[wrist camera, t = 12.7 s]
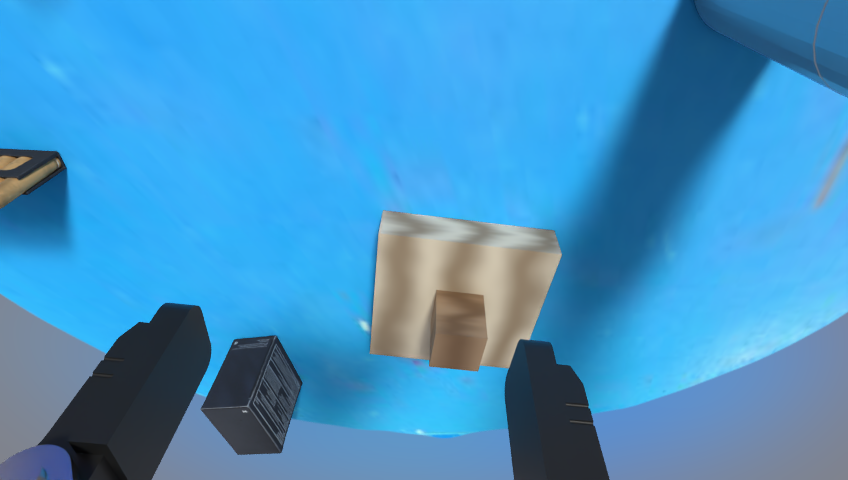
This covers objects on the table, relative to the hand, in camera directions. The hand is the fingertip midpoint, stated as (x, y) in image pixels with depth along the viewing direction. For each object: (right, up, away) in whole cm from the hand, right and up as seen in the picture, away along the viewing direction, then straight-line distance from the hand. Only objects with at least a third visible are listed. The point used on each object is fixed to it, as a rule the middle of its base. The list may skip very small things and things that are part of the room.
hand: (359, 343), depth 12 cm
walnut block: (+5, -5, +38) cm, 39 cm away
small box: (-20, -14, +51) cm, 57 cm away
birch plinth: (+5, -2, +41) cm, 42 cm away
